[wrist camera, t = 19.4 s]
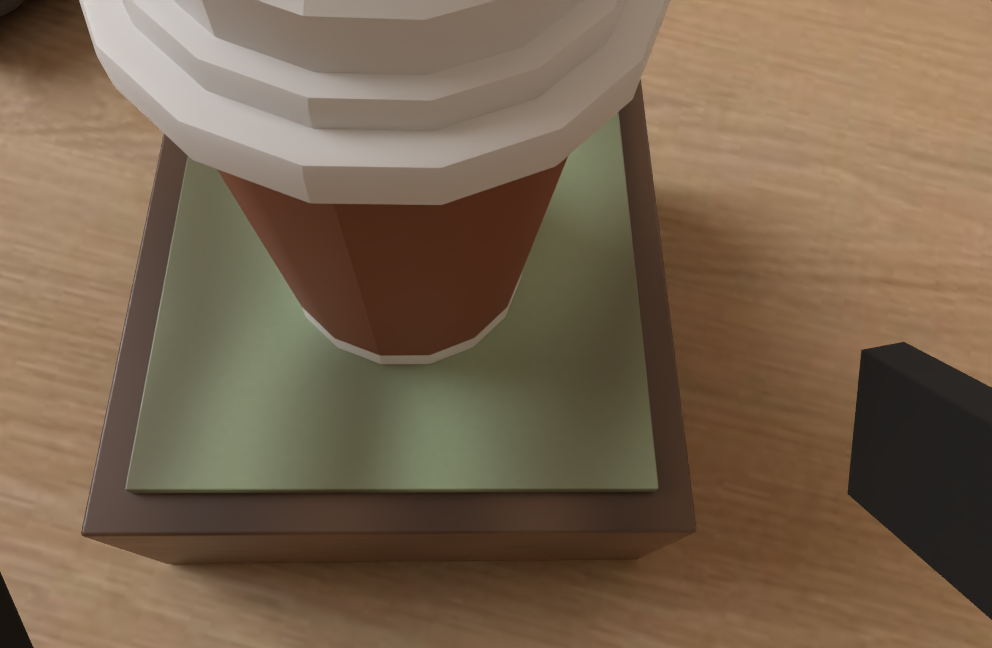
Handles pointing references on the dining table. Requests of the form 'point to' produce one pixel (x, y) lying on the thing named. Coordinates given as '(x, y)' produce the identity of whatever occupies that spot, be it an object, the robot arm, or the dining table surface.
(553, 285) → the stand
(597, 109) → the coffee cup
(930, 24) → the dining table surface
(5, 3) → the flashlight
